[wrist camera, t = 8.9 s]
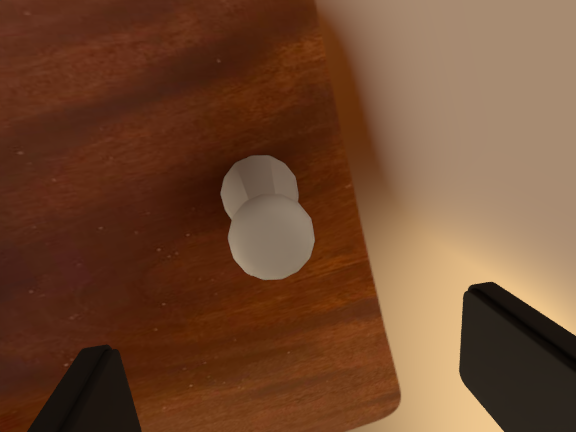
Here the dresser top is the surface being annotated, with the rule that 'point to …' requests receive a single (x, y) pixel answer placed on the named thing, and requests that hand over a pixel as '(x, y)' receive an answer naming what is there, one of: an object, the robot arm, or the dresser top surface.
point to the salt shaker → (266, 218)
